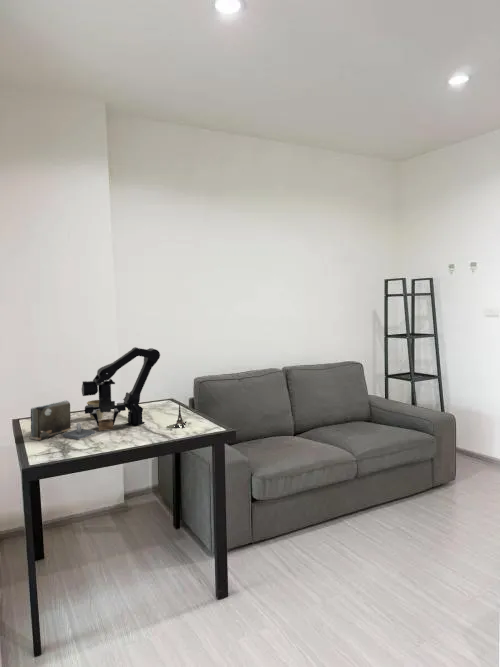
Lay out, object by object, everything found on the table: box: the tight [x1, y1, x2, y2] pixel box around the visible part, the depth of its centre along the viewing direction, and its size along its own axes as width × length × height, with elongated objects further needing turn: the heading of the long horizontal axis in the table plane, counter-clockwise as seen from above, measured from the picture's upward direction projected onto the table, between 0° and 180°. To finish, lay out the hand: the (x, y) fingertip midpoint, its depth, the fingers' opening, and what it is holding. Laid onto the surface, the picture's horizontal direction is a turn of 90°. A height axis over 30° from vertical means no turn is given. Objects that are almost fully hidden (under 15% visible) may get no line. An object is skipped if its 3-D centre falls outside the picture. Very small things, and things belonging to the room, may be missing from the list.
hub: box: [62, 422, 96, 440], centre depth 219 cm, size 10×10×5 cm
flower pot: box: [86, 399, 104, 420], centre depth 249 cm, size 9×9×9 cm
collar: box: [98, 418, 114, 431], centre depth 230 cm, size 7×7×4 cm
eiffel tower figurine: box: [165, 400, 187, 429], centre depth 232 cm, size 15×10×13 cm
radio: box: [28, 399, 72, 441], centre depth 222 cm, size 23×9×15 cm, turn 154°
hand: (105, 425), depth 230 cm, fingers closed on collar, 7 cm apart
